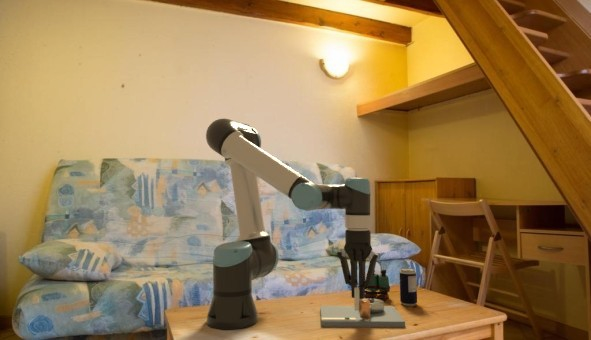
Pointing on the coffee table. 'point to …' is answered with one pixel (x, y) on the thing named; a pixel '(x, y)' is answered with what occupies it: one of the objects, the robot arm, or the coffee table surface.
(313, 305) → the coffee table surface
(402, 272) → the beverage can
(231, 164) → the robot arm
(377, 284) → the binoculars
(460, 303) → the coffee table surface
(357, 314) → the level board
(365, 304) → the cam lever
